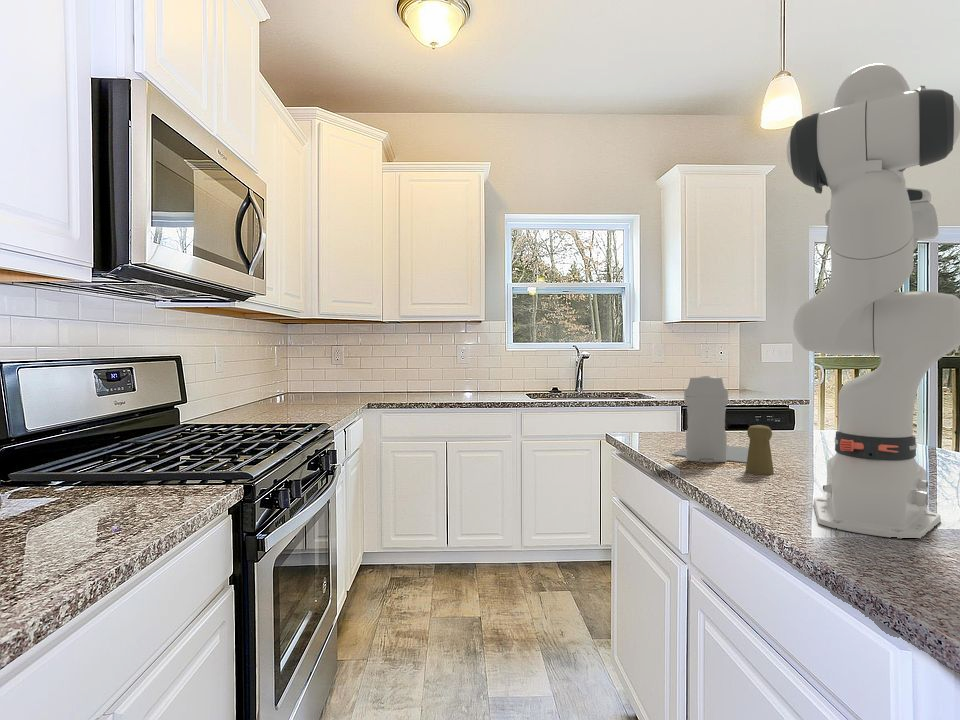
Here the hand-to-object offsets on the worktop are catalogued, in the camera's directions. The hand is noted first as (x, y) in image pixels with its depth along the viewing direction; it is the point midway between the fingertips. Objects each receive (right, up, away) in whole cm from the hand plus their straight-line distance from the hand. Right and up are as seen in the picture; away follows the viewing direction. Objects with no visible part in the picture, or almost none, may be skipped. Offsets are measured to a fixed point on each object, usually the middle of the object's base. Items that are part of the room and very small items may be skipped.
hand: (879, 264), depth 130 cm
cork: (-22, -47, +10) cm, 53 cm away
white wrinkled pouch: (-29, -47, +23) cm, 60 cm away
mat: (-21, -46, +34) cm, 61 cm away
